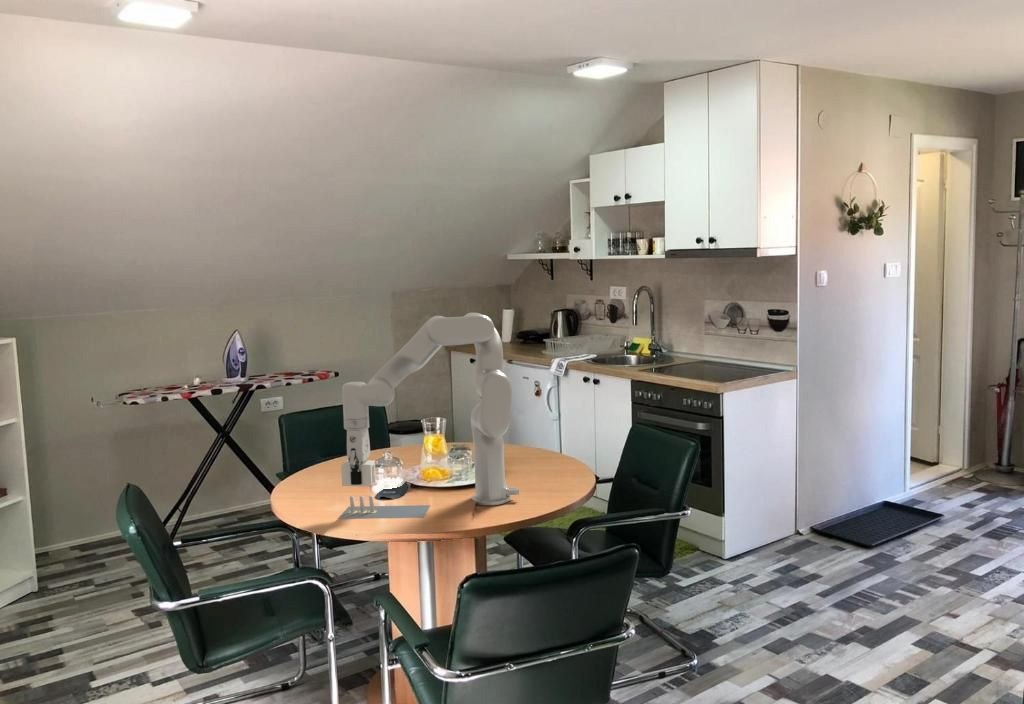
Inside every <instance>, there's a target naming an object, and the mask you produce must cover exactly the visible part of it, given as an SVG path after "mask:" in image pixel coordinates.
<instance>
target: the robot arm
mask: <svg viewBox="0 0 1024 704" xmlns="http://www.w3.org/2000/svg"><path fill="white" fill-rule="evenodd" d="M471 344H473V345H474V348H475V374H474V375H475V376H474V388H475V389H474V390H475V391H476V393H477V394H478V395H479V396H480V402H479V403H477V404H476V405H475V406H474V407H473V409H472V411H471V413H470V425H471V433H472V442H473V443H472V444H473V446H472V447H473V465H474V482H475V483H474V487H475V494H473V495H471V497H470V499H471V500H473V501H474V502H475V505H478V506H498V505H502V504H506V503H508V502H510V501H511V500H512V499H511V495H513V496H520V488H517V487H509V486H508V484H507V483H506V475H505V474H506V473H505V452H504V451H505V450H504V449H505V448H504V447H505V446H504V437H503V436H504V435H505V434H506V433H507V432H508V429H509V428H510V424H511V417H512V416H511V411H512V391H513V390H512V384H511V380H510V379H509V377H508V376H507V375H506V374H505V373H504V348H503V347H504V346H503V341H502V338H501V336H500V334H499V331H498V330H497V329H496V327H495V324H494V322H493V320H492V319H491V318H490V317H489V316H487V315H485V314H481V313H478V312H468V313H466V314H465V315H464V316H451V317H450V316H449V317H445V316H443V315H434V316H432V317H430V318H429V319H428V320H427V321H426V322H425V323H424V324H423V325H422V326H421V327H420V328H419V330H417V332H416V333H414V335H413V336H412V337H411V338H410V339H409V340H408V341H407V343H405V345H404V346H402V348H401V349H400V350H398V351H397V352H396V353H395V354H394V355H393V356H392V357H391V358H390V359H388V360H387V361H386V363H385V364H384V365H383V366H382V367H380V369H378V370H377V372H376V373H375V374H374V375H373V376H372V377H371V378H370V380H369V381H368V382H367V383H366V382H364V381H348V382H346V383H344V384H343V385H342V389H341V390H342V392H341V393H342V394H341V395H342V409H343V410H342V412H343V429H344V430H346V458H347V460H348V461H349V462H350V473H351V484H352V485H361V484H362V474H361V471H360V464H361V462H364V461H365V460H368V458H369V457H370V456H371V444H370V434H369V433H370V432H369V428H370V416H369V415H370V413H369V407H370V406H371V407H386V406H389V405H390V404H391V403H392V402H393V401H394V399H395V389H396V387H398V385H399V384H400V383H401V382H402V381H403V380H404V379H406V377H408V376H409V375H410V374H412V373H416V372H417V371H419V370H420V369H422V368H423V367H424V366H425V365H427V363H428V362H429V361H430V359H432V357H433V356H435V354H436V353H437V352H438V351H439V350H440V349H441V348H442V346H447V347H448V346H461V345H471ZM355 460H358V461H355ZM357 464H358V467H357Z"/></svg>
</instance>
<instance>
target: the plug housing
mask: <svg viewBox="0 0 1024 704" xmlns="http://www.w3.org/2000/svg"><path fill="white" fill-rule="evenodd" d="M355 461H358V460H356V459H355ZM340 466H341V467H340V470H341V471H340V472H341V486H342V487H372V486H373V483H376V481H377V477H376V459H375V460H372V459H369V460H368V459H366V460H365V461H364V462H361V464H360V471H361V474H362V484H361V485H352V484H351V473H350V462H349V461H348V459H347V460H345V461H343V462H342V464H340ZM357 467H358V464H357Z"/></svg>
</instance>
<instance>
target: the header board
mask: <svg viewBox="0 0 1024 704" xmlns="http://www.w3.org/2000/svg"><path fill="white" fill-rule="evenodd" d="M368 498H369V500H368V501H369V506H368V505H366V506H365V499H364V495H359V506H355V496H354V495H351V496H349V502H350V503H349V504H350V506H348V507H346V509H345V510H344V511H343V512H342V514H340V516H339V517H338V518H337V519H338V520H345V519H346V520H348V519H349V520H355V519H356V520H357V519H359V520H360V519H363V520H364V519H367V520H368V519H410V518H411V519H412V518H417V519H420V518H425V517H426V514H427V512H428V511H429V509H430V507H431V504H428V505H427V504H426V505H422V504H420V505H419V504H418V505H417V504H416V505H415V504H414V505H375V504H374V502H375V501H374V495H369V496H368Z"/></svg>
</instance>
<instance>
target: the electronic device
mask: <svg viewBox="0 0 1024 704" xmlns="http://www.w3.org/2000/svg"><path fill="white" fill-rule="evenodd" d="M403 483H404V484H403V485H402V486H400V487H397V488H392V489H383V488H382V489H383V490H382V489H381V490H380V491H379V492H378V493H376V494H375V496H374V498H375V499H376V500H379V501H380V500H381V499H380V498H382V497H385V498H387V499H388V498H389V499H392V500H398V499H401V498H403V497H404V496H405V495H406V494H408V491H409V490H410V488H411V484H410V482H403Z"/></svg>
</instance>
